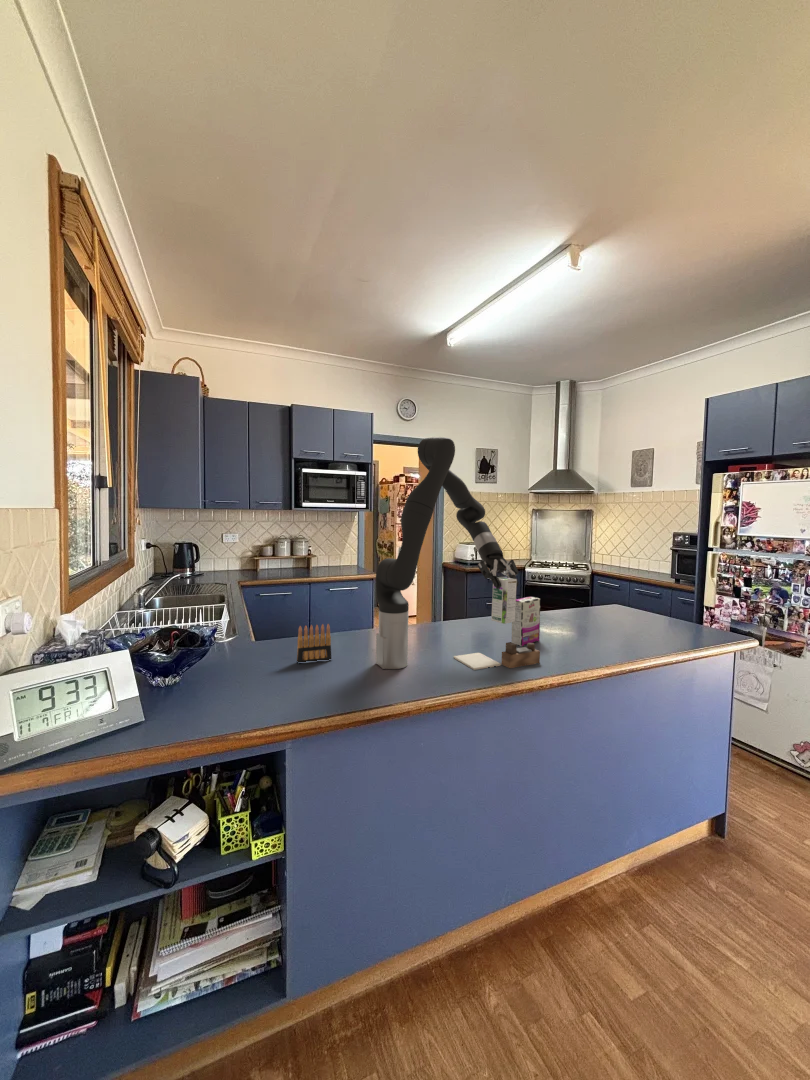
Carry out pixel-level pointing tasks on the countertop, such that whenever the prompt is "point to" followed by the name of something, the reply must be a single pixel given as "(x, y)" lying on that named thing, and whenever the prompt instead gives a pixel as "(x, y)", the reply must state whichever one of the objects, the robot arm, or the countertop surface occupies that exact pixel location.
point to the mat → (477, 661)
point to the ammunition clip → (314, 644)
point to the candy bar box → (526, 621)
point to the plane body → (520, 655)
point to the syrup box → (504, 601)
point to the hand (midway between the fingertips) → (507, 586)
